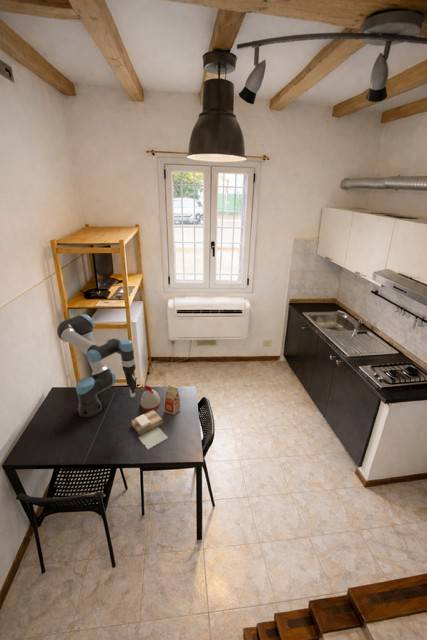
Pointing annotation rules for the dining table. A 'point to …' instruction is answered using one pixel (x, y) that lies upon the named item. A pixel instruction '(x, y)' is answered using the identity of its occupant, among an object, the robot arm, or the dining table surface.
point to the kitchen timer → (150, 399)
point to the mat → (153, 438)
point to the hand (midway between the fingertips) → (132, 395)
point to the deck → (155, 422)
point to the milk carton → (172, 400)
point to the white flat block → (143, 421)
